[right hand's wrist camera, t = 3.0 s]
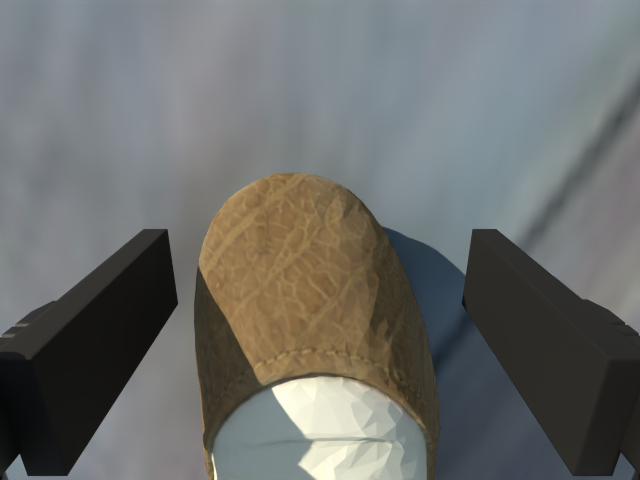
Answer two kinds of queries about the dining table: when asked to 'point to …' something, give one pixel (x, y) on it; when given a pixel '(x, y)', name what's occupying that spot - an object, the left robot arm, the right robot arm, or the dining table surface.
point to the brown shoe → (310, 341)
